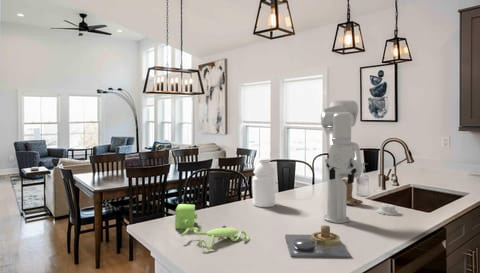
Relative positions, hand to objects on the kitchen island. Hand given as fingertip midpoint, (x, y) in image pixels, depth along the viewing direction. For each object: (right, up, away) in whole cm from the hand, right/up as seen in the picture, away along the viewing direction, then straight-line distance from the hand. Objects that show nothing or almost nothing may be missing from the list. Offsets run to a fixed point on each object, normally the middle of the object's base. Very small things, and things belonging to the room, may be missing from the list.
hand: (341, 181), depth 142 cm
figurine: (-54, -26, -2) cm, 60 cm away
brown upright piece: (+22, -22, +60) cm, 68 cm away
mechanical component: (+38, -23, +39) cm, 59 cm away
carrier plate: (-13, -25, -9) cm, 30 cm away
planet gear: (-8, -24, -6) cm, 26 cm away
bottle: (-29, -22, +58) cm, 69 cm away
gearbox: (-70, -25, +18) cm, 76 cm away
